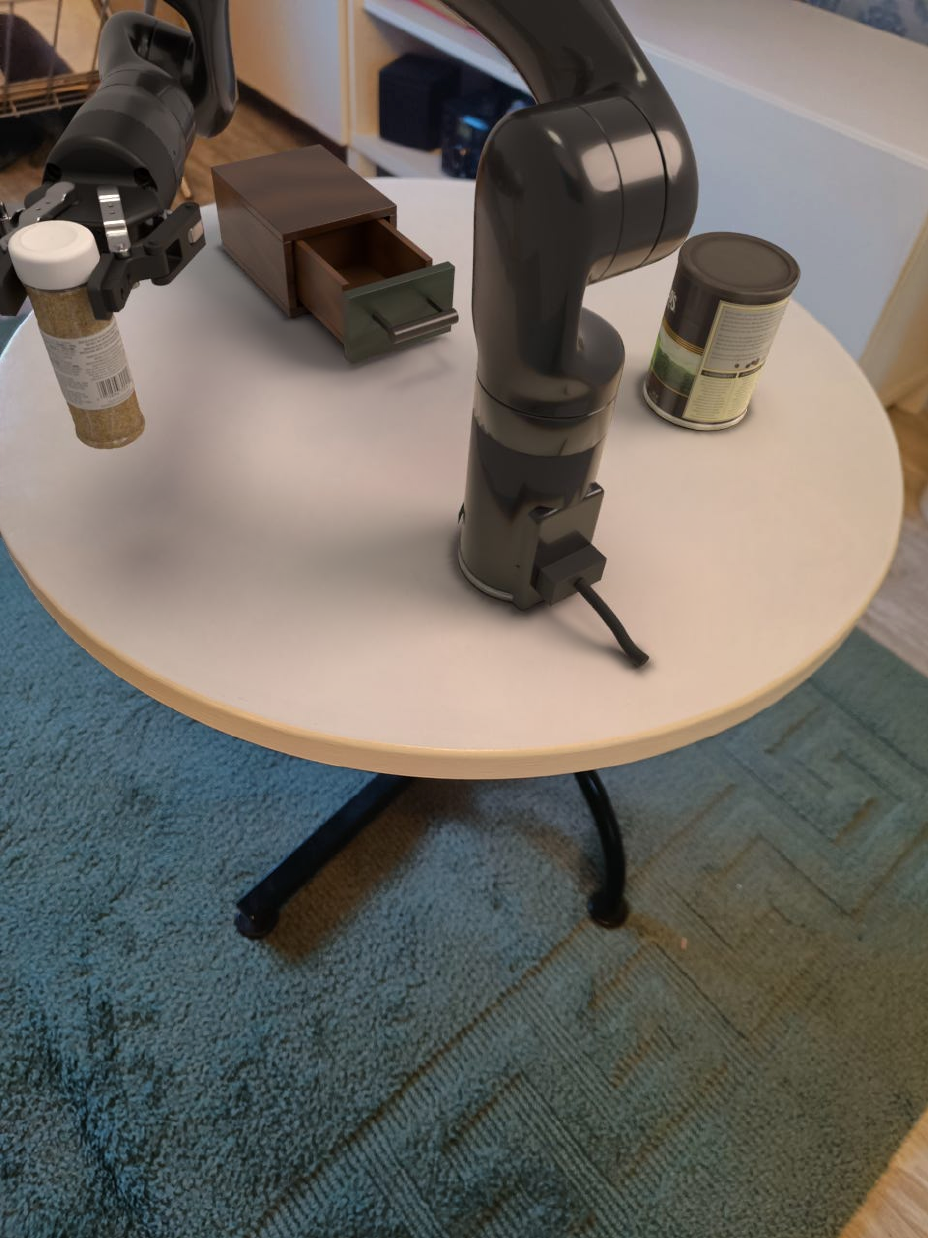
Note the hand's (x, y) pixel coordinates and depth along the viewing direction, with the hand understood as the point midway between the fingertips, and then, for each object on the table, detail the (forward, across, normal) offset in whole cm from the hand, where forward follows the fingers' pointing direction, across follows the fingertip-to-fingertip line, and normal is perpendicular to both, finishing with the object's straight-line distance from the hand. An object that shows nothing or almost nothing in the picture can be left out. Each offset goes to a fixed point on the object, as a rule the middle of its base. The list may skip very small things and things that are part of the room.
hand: (50, 303), depth 48 cm
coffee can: (-25, +47, +23) cm, 58 cm away
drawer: (-34, +16, +22) cm, 43 cm away
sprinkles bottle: (-3, 0, +11) cm, 12 cm away
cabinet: (-46, +8, +22) cm, 52 cm away
